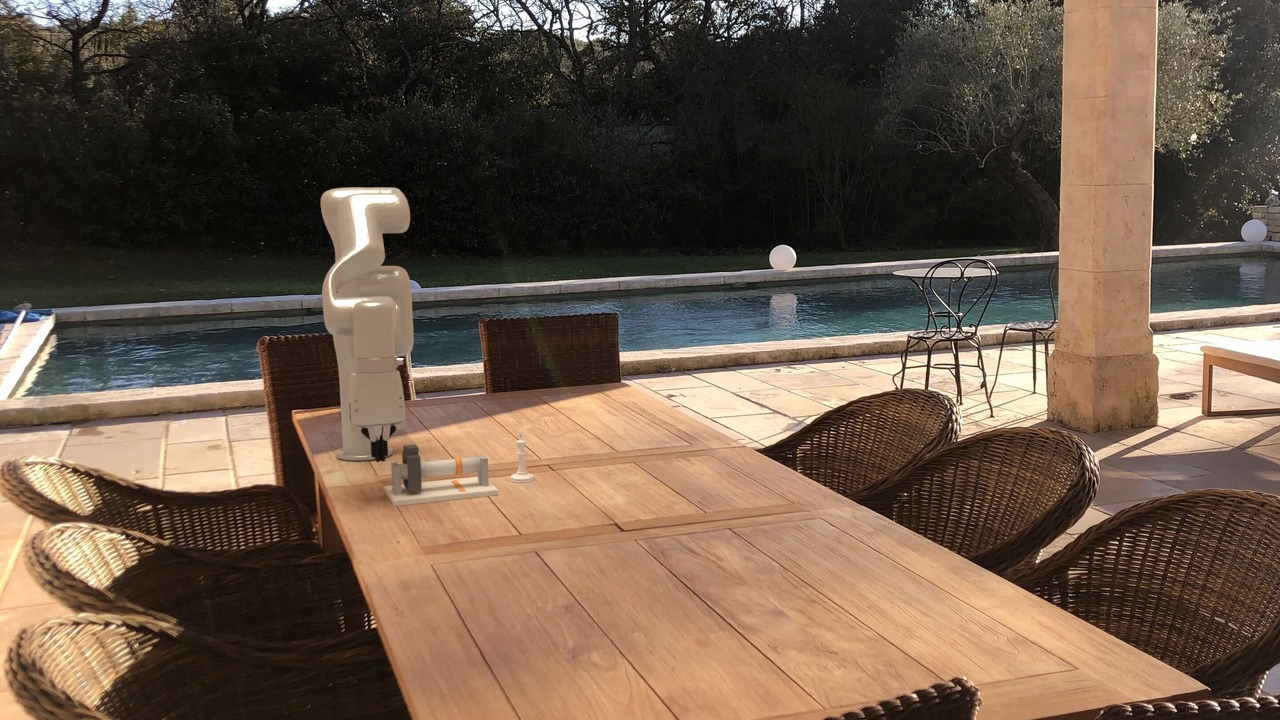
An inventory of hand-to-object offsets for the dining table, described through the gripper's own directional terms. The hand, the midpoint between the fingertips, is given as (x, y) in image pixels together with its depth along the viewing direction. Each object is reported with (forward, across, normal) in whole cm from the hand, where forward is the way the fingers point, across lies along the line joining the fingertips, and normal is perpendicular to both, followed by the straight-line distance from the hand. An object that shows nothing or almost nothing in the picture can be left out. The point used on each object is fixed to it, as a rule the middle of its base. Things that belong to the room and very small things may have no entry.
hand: (379, 460), depth 215 cm
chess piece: (+8, -29, -4) cm, 30 cm away
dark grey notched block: (+6, -6, 0) cm, 9 cm away
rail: (+8, -12, 0) cm, 14 cm away
